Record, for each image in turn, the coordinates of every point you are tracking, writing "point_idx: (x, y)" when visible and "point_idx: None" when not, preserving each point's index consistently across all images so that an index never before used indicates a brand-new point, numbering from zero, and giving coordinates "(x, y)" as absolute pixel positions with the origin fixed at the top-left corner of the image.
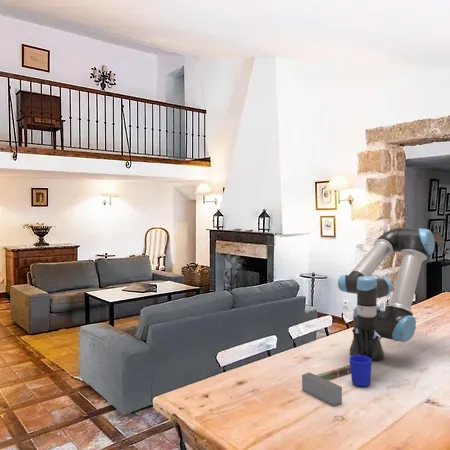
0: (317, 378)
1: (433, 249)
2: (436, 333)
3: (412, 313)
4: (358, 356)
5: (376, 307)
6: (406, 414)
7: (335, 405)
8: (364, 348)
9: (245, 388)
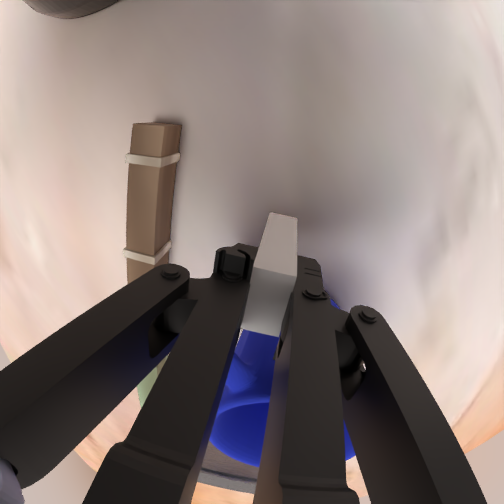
0: (213, 480)
1: None
2: None
3: None
4: (237, 404)
5: None
6: (478, 397)
7: None
8: (225, 380)
9: (109, 445)
